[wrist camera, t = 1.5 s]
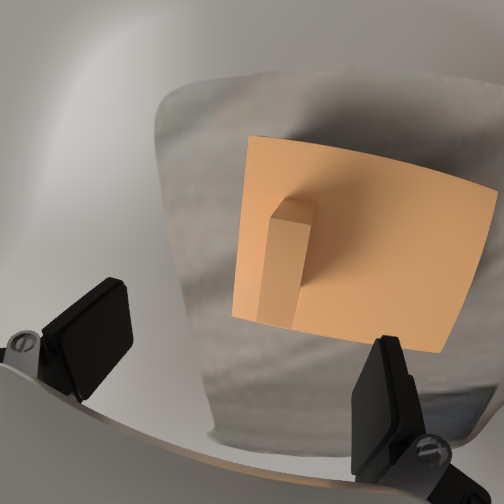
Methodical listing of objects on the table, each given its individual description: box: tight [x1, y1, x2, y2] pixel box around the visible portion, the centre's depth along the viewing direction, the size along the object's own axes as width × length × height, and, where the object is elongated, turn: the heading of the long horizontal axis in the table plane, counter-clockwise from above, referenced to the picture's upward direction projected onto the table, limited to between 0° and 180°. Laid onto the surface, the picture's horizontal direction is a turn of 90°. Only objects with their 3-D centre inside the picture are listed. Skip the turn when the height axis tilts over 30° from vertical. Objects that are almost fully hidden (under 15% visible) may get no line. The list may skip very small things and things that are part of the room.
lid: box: [232, 135, 498, 353], centre depth 18 cm, size 17×13×7 cm
